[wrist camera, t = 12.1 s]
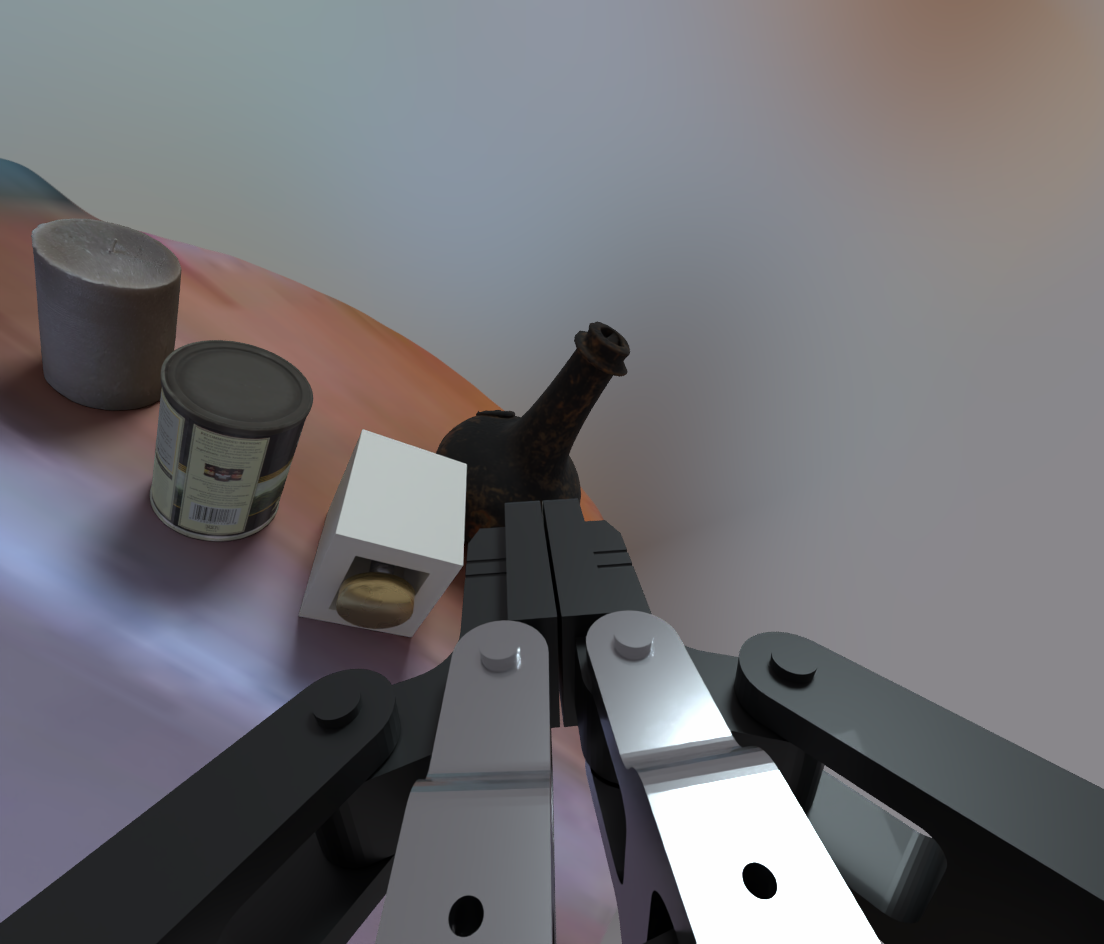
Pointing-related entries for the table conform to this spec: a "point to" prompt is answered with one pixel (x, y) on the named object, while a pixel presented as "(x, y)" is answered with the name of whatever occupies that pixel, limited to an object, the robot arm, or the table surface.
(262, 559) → the table surface
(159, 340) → the pillar candle
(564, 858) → the table surface
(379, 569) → the plunger
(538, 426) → the antique onion bottle
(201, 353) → the coffee can
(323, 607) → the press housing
